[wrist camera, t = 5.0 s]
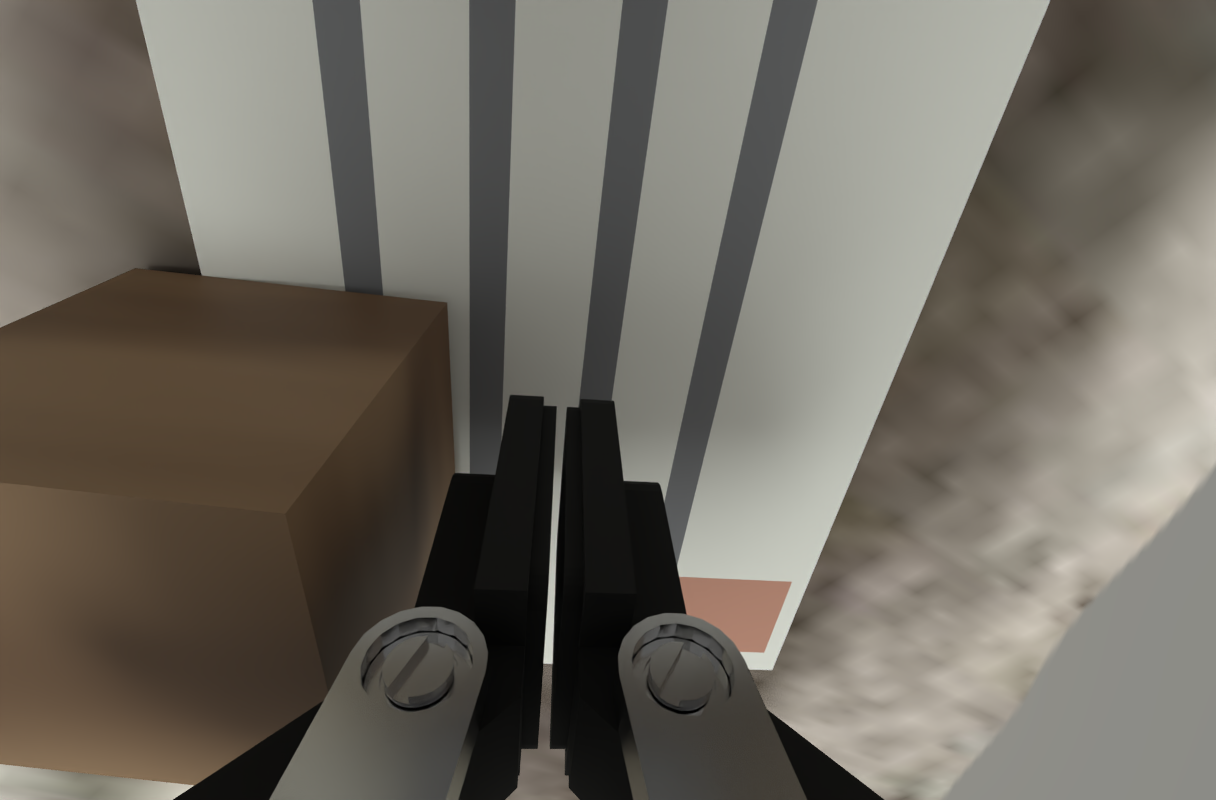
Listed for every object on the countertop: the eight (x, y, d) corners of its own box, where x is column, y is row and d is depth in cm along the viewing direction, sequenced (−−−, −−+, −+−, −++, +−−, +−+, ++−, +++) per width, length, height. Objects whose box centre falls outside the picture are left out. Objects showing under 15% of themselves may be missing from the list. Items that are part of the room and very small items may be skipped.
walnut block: (134, 268, 10) (-280, 451, 5) (446, 302, 10) (284, 513, 5) (212, 506, 12) (-26, 761, 8) (458, 534, 12) (355, 801, 8)
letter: (81, -296, 7) (61, -309, 6) (1082, -116, 8) (1100, -121, 8) (297, 645, 15) (293, 656, 14) (769, 659, 16) (772, 670, 16)
